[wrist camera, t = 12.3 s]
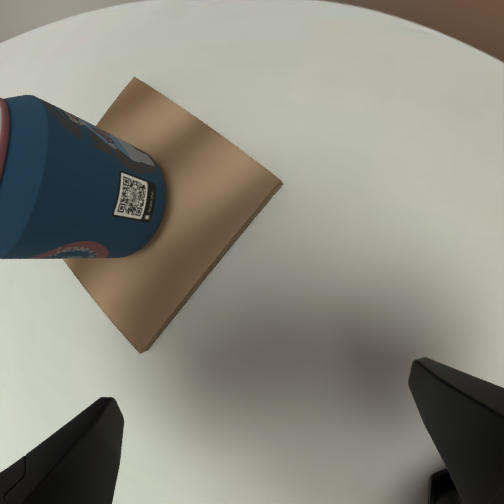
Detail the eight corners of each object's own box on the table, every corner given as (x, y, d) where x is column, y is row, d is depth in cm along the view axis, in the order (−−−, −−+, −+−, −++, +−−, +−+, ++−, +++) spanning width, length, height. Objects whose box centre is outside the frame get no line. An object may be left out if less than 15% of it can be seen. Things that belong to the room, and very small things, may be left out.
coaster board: (282, 183, 18) (280, 180, 17) (147, 349, 20) (140, 353, 19) (140, 82, 21) (134, 76, 20) (46, 223, 22) (38, 222, 22)
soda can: (85, 248, 20) (-65, 244, 8) (102, 153, 20) (-36, 99, 8) (165, 266, 19) (-11, 278, 7) (185, 154, 18) (37, 61, 7)
